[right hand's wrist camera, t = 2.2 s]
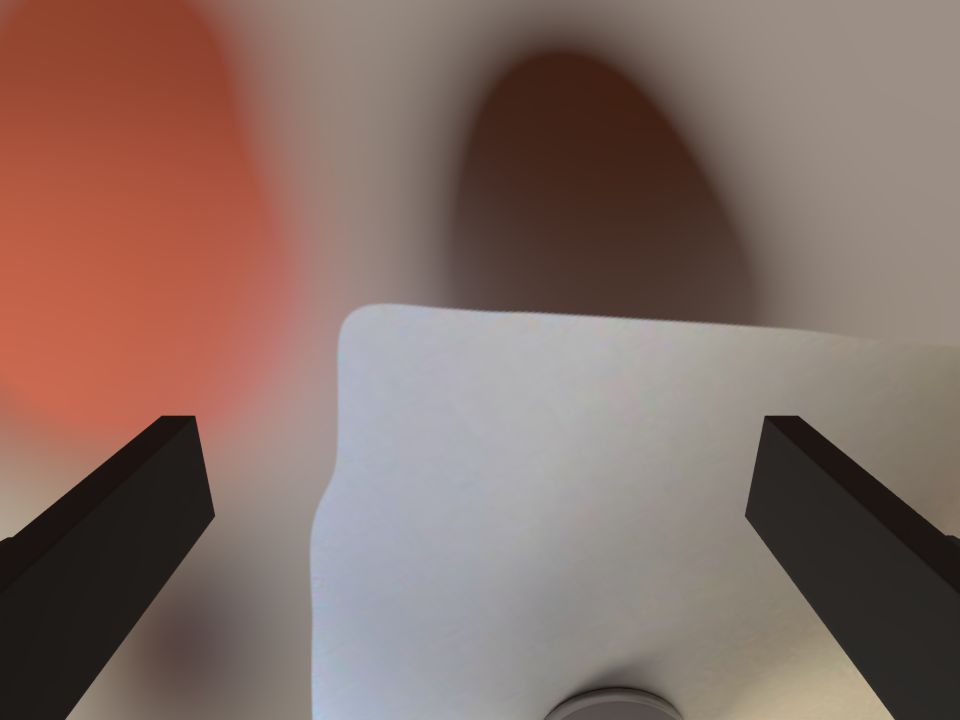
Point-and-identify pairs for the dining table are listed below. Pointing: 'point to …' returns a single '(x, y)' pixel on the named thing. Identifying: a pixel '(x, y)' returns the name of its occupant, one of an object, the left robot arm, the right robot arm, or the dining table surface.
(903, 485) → the dining table surface
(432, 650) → the dining table surface
